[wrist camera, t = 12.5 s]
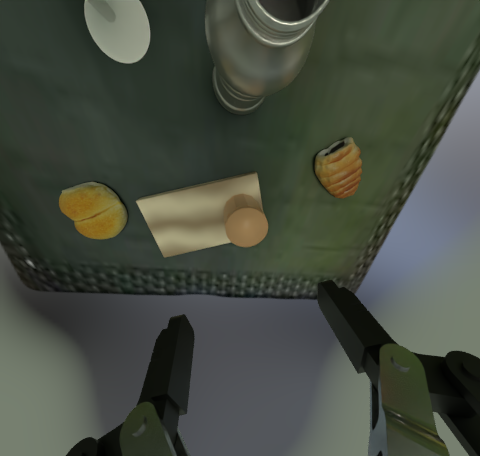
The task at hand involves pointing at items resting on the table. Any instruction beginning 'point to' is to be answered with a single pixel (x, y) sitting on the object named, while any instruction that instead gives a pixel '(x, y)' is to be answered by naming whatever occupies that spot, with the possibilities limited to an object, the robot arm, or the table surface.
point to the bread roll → (94, 210)
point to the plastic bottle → (257, 47)
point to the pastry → (339, 168)
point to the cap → (244, 221)
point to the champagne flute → (119, 28)
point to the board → (194, 213)
